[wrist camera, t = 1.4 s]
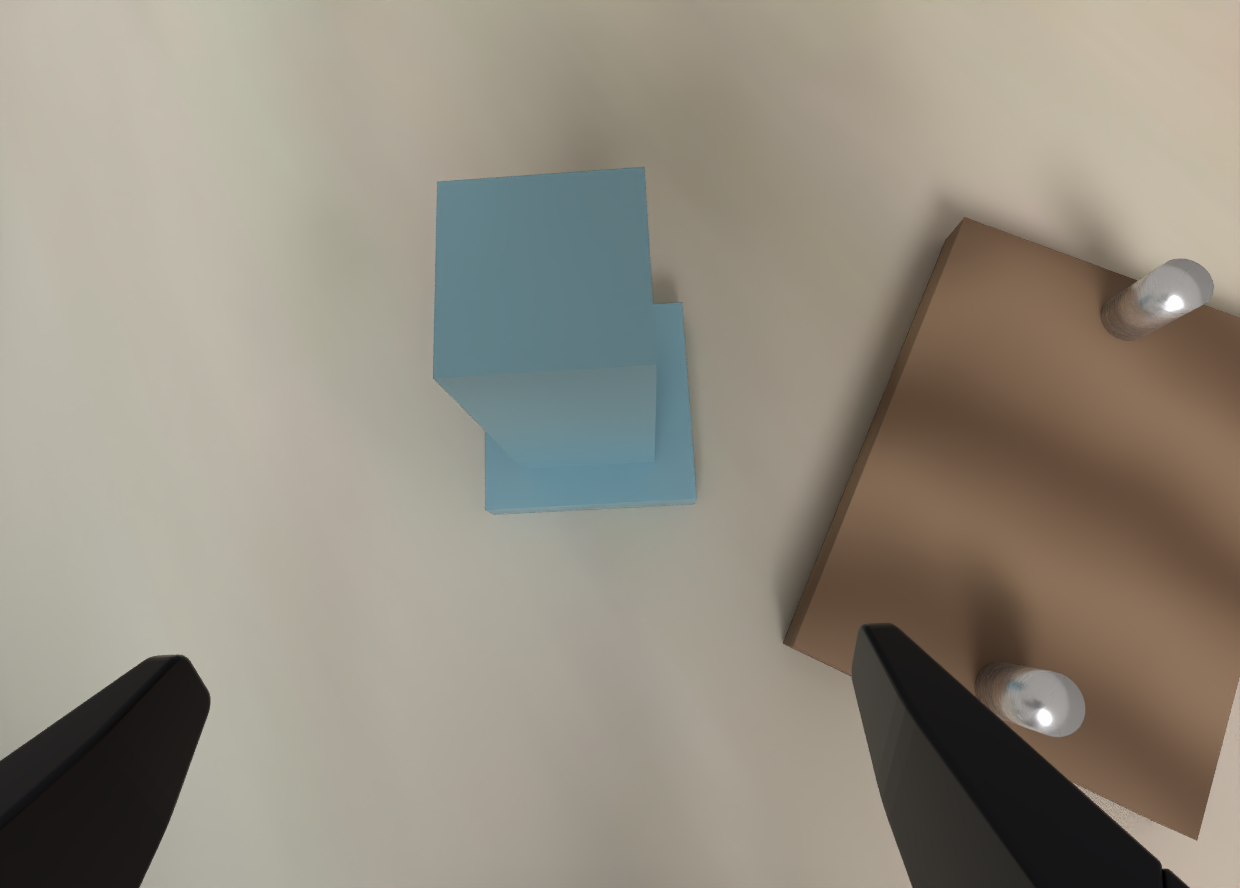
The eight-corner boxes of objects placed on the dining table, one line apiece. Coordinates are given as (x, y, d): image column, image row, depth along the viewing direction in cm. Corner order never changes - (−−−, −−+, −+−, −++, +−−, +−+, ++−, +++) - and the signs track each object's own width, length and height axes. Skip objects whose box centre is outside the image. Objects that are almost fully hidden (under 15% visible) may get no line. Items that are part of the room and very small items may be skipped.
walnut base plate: (1156, 822, 20) (1197, 840, 18) (783, 643, 21) (792, 646, 20) (1281, 365, 23) (1324, 349, 21) (945, 240, 24) (964, 217, 23)
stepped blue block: (694, 503, 22) (729, 424, 12) (493, 514, 23) (365, 446, 13) (680, 316, 24) (701, 109, 14) (493, 328, 24) (379, 133, 14)
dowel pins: (1020, 729, 19) (1074, 748, 17) (966, 703, 19) (1012, 719, 17) (1156, 307, 22) (1219, 270, 19) (1107, 289, 22) (1164, 250, 20)
